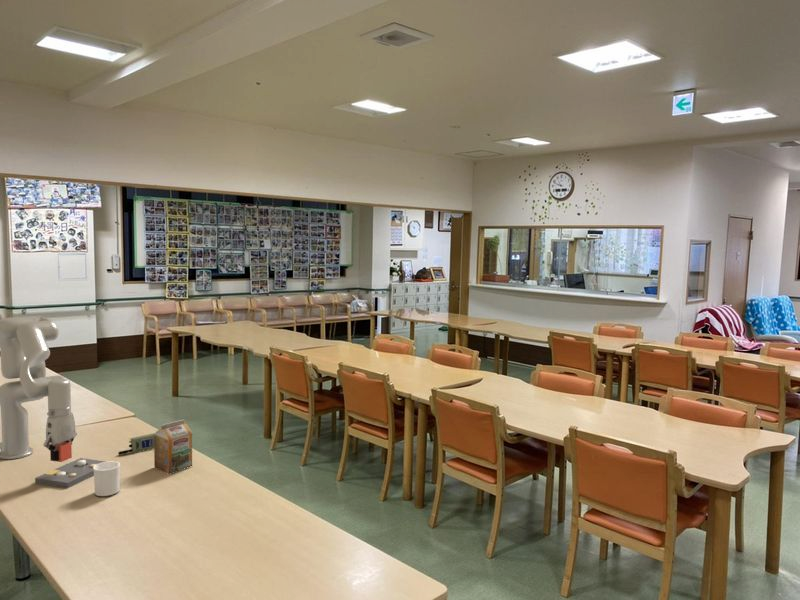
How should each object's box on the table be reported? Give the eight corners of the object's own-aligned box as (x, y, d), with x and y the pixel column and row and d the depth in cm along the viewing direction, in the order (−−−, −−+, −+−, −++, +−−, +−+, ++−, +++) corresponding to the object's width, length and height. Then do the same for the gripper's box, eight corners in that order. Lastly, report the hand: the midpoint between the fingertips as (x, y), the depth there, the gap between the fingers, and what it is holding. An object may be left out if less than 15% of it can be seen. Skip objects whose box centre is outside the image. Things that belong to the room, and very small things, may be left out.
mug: (109, 499, 206) (109, 471, 206) (87, 496, 208) (87, 469, 207) (129, 487, 217) (129, 460, 216) (108, 484, 219) (108, 458, 218)
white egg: (74, 466, 231) (74, 462, 231) (81, 464, 234) (81, 459, 234) (81, 467, 230) (81, 463, 230) (87, 465, 233) (87, 460, 233)
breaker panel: (35, 482, 218) (35, 476, 218) (80, 462, 240) (80, 456, 239) (67, 488, 215) (67, 481, 215) (111, 467, 236) (111, 460, 236)
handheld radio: (176, 444, 266) (120, 457, 248) (172, 442, 268) (117, 455, 250) (175, 429, 266) (119, 442, 247) (172, 428, 268) (116, 440, 250)
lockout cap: (50, 460, 220) (50, 445, 220) (61, 456, 225) (60, 441, 224) (61, 462, 219) (60, 446, 218) (71, 457, 224) (71, 442, 223)
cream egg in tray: (54, 479, 222) (54, 474, 221) (61, 475, 225) (61, 471, 224) (61, 480, 221) (61, 475, 221) (67, 477, 224) (67, 472, 224)
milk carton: (168, 474, 231) (168, 427, 229) (154, 467, 237) (154, 422, 235) (192, 466, 239) (192, 422, 237) (177, 460, 245) (177, 416, 244)
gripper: (49, 418, 211) (50, 466, 213) (85, 406, 228) (86, 451, 229) (32, 416, 213) (34, 464, 215) (69, 405, 230) (70, 449, 231)
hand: (61, 457), depth 222 cm, fingers closed on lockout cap, 4 cm apart
